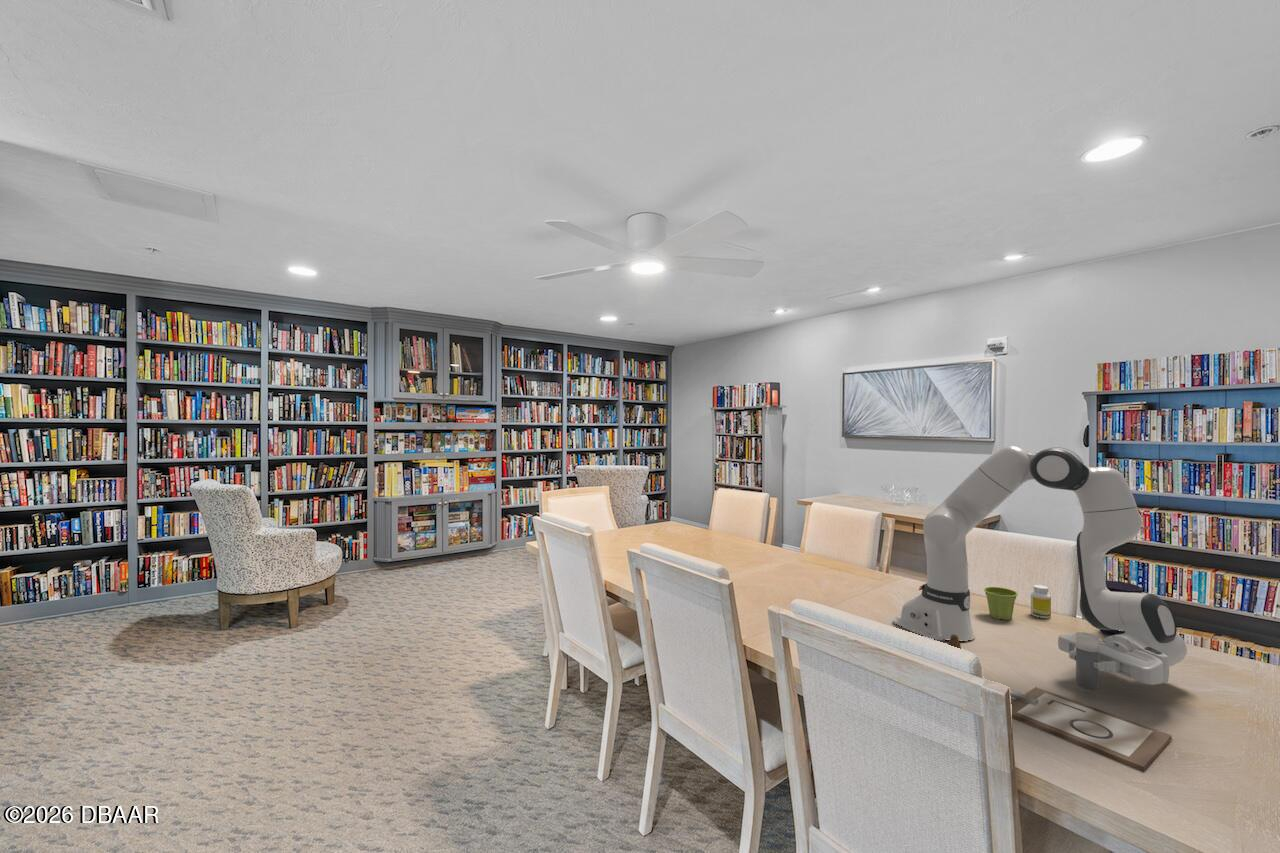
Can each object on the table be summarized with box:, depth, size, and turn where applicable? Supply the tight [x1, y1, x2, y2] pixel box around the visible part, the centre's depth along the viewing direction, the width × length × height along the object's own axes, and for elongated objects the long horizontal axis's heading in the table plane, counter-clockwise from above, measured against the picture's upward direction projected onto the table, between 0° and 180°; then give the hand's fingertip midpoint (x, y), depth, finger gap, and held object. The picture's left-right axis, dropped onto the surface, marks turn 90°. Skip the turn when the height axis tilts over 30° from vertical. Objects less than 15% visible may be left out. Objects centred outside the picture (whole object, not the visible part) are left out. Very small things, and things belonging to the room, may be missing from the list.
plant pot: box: [983, 586, 1019, 621], centre depth 178 cm, size 9×9×9 cm
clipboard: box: [1010, 686, 1173, 772], centre depth 116 cm, size 26×18×2 cm
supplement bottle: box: [1030, 584, 1052, 619], centre depth 179 cm, size 5×5×10 cm
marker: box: [1075, 631, 1100, 691], centre depth 127 cm, size 4×4×12 cm
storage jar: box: [1099, 580, 1143, 637], centre depth 163 cm, size 10×10×15 cm
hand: (1084, 661), depth 127 cm, fingers closed on marker, 4 cm apart
